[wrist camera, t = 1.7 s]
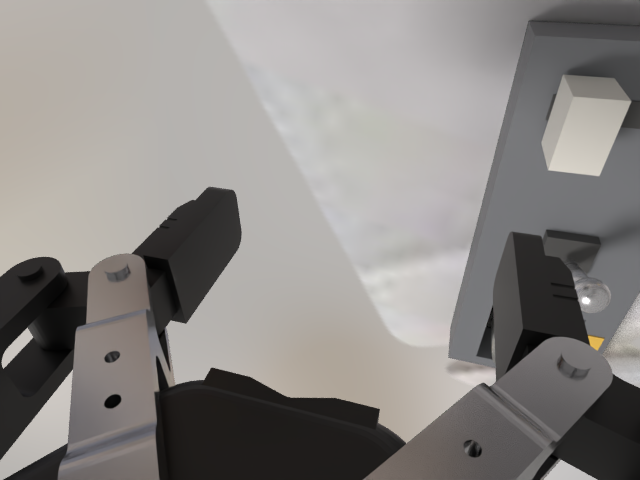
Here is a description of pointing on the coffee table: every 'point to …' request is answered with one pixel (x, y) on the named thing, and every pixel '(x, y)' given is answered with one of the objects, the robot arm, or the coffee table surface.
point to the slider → (584, 124)
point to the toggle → (589, 289)
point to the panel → (559, 185)
